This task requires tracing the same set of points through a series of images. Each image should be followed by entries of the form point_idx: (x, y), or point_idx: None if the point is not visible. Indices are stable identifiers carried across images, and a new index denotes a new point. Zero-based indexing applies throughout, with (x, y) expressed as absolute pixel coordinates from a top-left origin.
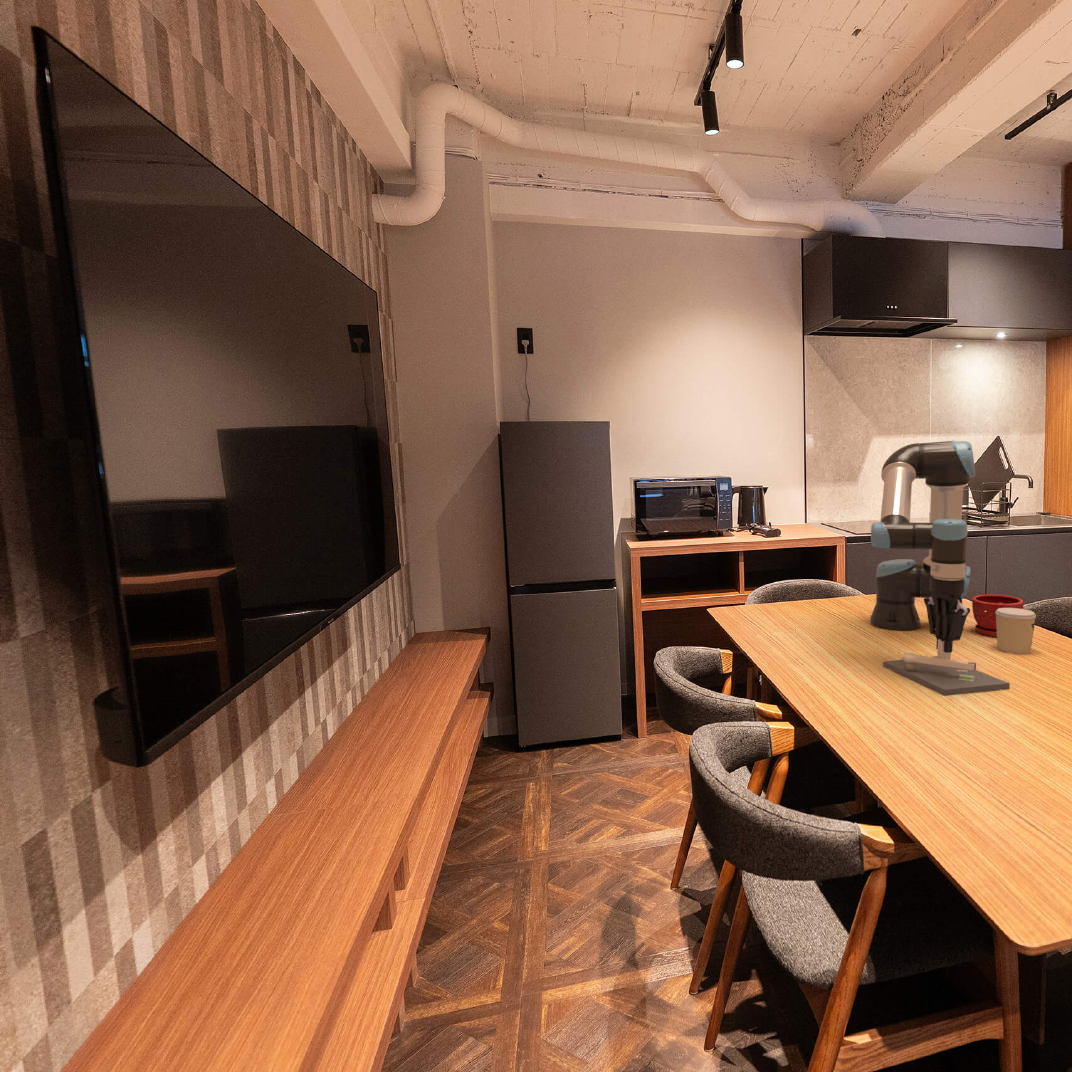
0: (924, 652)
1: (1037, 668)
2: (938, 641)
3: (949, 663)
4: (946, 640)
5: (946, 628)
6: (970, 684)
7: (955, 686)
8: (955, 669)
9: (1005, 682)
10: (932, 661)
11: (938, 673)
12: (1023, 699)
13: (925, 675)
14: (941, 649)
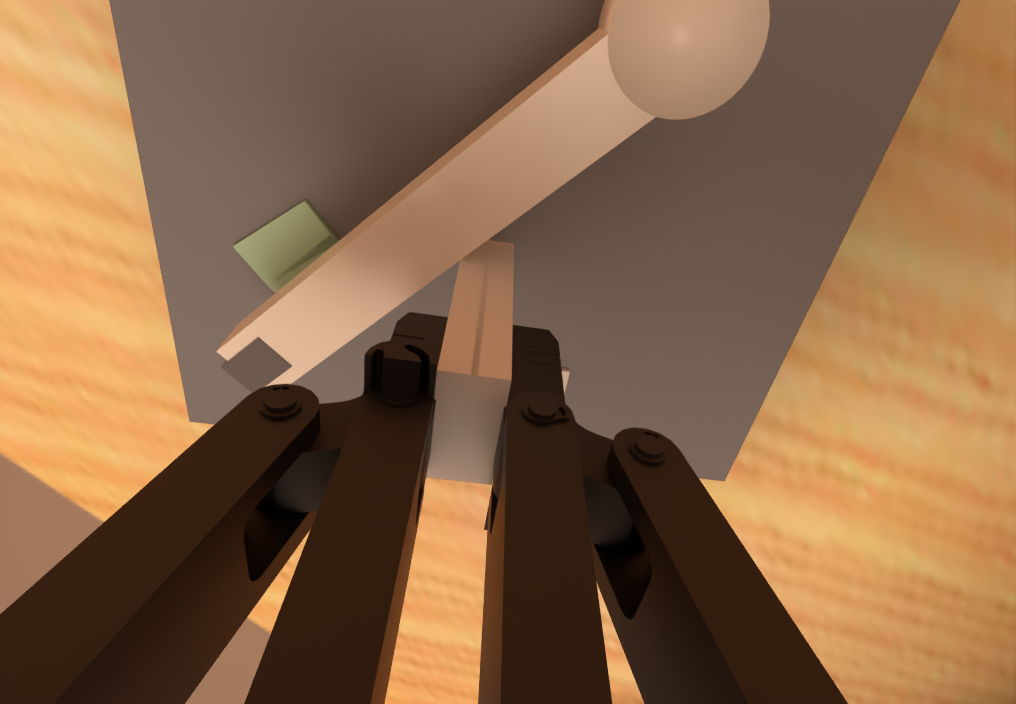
0: (857, 497)
1: (424, 666)
2: (501, 361)
3: (356, 236)
4: (373, 389)
5: (314, 532)
6: (192, 189)
7: (159, 25)
8: None
9: (204, 412)
10: (465, 141)
11: None
12: (31, 325)
13: (474, 26)
14: (455, 307)
